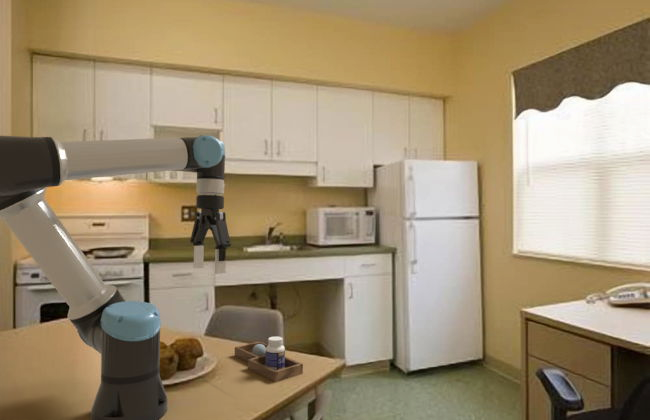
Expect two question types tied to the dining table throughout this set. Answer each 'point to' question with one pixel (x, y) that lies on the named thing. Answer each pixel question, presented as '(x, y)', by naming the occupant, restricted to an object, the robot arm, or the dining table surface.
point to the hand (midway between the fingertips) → (208, 270)
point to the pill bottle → (275, 353)
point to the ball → (259, 350)
